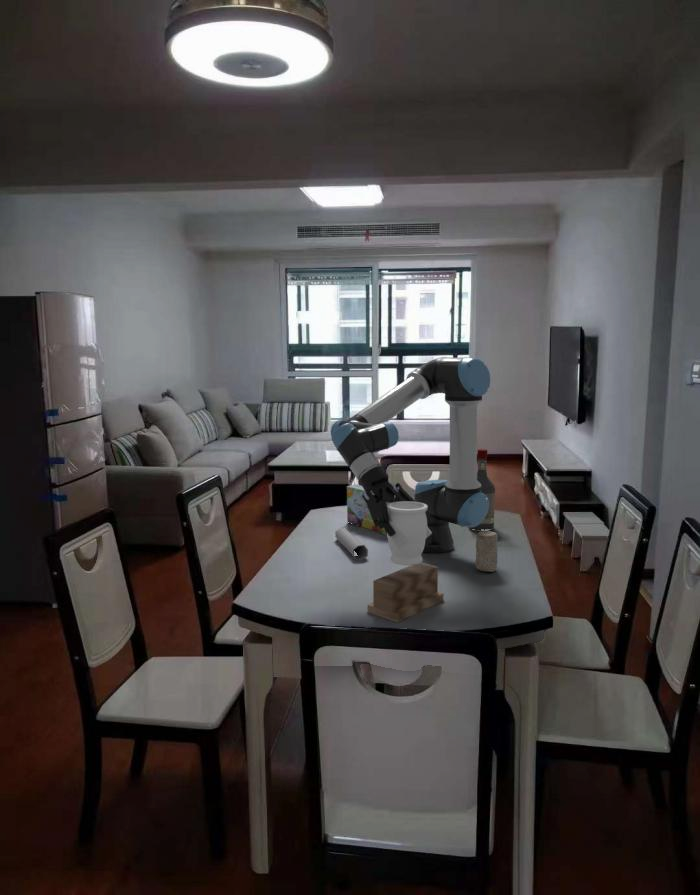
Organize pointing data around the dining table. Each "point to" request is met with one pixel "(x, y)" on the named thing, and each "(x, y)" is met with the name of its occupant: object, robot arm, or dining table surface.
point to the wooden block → (405, 592)
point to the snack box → (360, 509)
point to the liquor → (485, 491)
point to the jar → (408, 531)
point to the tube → (351, 543)
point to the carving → (486, 551)
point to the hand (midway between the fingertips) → (415, 540)
